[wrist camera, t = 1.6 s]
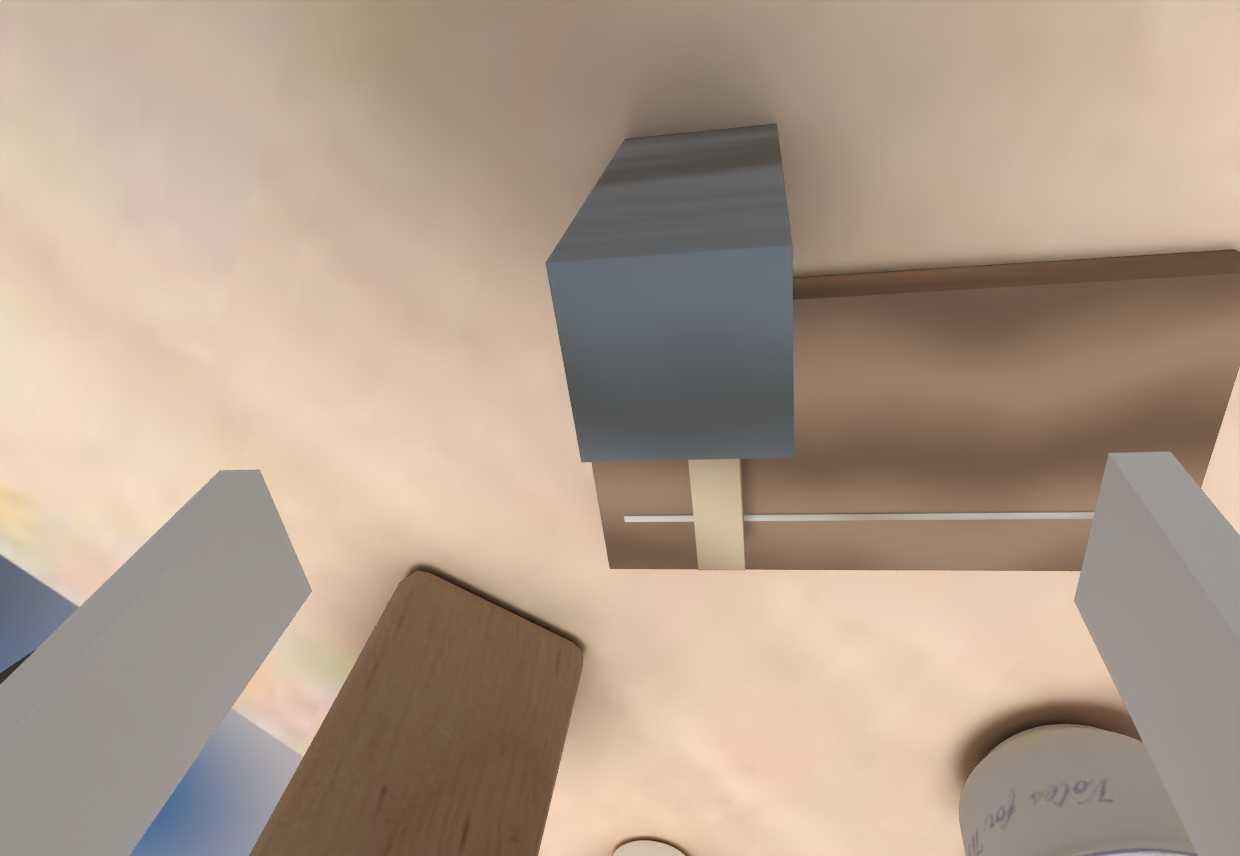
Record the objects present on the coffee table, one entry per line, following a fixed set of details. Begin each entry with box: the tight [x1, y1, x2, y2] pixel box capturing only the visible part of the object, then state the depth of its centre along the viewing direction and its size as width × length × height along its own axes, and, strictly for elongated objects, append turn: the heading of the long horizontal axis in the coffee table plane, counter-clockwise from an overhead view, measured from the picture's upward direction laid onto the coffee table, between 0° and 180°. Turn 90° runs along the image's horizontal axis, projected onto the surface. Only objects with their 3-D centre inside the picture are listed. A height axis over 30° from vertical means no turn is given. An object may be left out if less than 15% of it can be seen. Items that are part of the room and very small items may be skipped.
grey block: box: [546, 124, 794, 570], centre depth 25 cm, size 16×5×12 cm, turn 7°
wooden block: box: [249, 571, 583, 856], centre depth 33 cm, size 10×10×20 cm
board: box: [592, 250, 1240, 571], centre depth 29 cm, size 12×22×2 cm, turn 97°
